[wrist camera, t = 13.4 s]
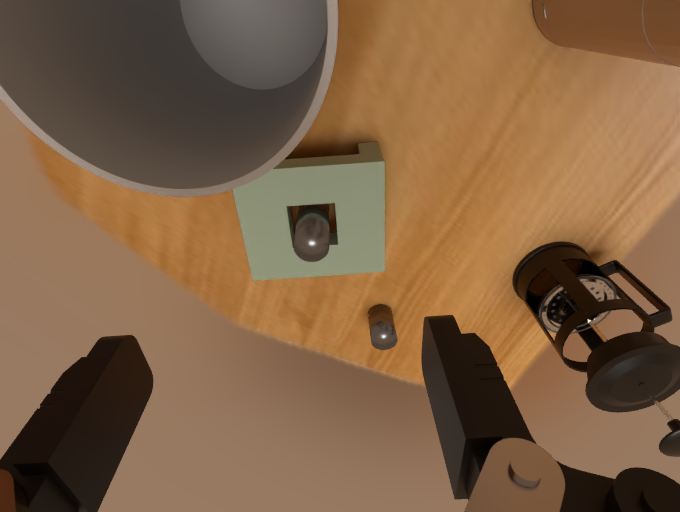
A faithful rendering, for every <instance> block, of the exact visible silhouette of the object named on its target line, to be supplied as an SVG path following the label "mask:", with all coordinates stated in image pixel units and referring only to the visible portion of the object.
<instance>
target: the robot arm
mask: <svg viewBox="0 0 680 512" xmlns="http://www.w3.org/2000/svg"><path fill="white" fill-rule="evenodd" d="M533 10H534V17H535V20H536V22H537V25H538V27H539V29H540V30H541V32H542V33H543V35H544V36H545V37H546V38H548V39H549V40H550V41H551V42H553V43H555V44H558V45H560V46H565V47H570V48H576V49H581V50H586V51H591V52H597V53H603V54H608V55H614V56H620V57H626V58H631V59H637V60H643V61H649V62H654V63H660V64H666V65H671V66H677V67H680V0H533ZM422 371H423V376H424V381H425V385H426V389H427V393H428V397H429V400H430V404H431V408H432V412H433V416H434V420H435V424H436V428H437V432H438V436H439V440H440V443H441V447H442V451H443V455H444V459H445V463H446V467H447V471H448V475H449V479H450V483H451V487H452V490H453V494H454V498H455V499H468V504H467V506H466V508H465V511H464V512H680V484H678V483H677V482H675V481H674V480H672V479H671V478H669V477H667V476H665V475H663V474H661V473H659V472H656V471H653V470H650V469H646V468H629V469H625V470H623V471H622V472H620V473H619V474H618V475H617V477H616V479H612V478H608V477H604V476H600V475H596V474H592V473H588V472H584V471H580V470H576V469H573V468H570V467H568V466H566V465H563V464H561V463H559V462H558V461H556V460H555V459H554V458H553V457H552V456H551V455H550V454H549V453H548V452H547V451H546V450H544V449H543V448H542V447H540V446H539V445H537V444H536V442H535V441H534V440H533V438H532V436H531V434H530V433H529V430H528V428H527V426H526V424H525V422H524V420H523V417H522V415H521V413H520V411H519V409H518V407H517V405H516V403H515V400H514V398H513V396H512V394H511V392H510V390H509V388H508V386H507V383H506V381H504V377H503V375H502V373H501V371H500V369H499V367H498V366H497V362H496V360H495V358H494V356H493V354H492V352H491V349H490V347H489V346H488V345H487V344H486V343H485V342H484V341H483V340H482V339H480V338H479V337H478V336H477V335H476V334H475V333H467V334H461V332H460V330H459V327H458V325H457V322H456V320H455V318H454V316H453V315H444V316H429V317H425V318H424V326H423V341H422ZM152 388H153V375H152V371H151V369H150V367H149V365H148V363H147V361H146V358H145V356H144V354H143V352H142V350H141V348H140V346H139V344H138V341H137V339H136V338H135V337H134V336H132V335H124V336H107V337H102V338H100V339H99V340H98V341H97V342H96V344H95V345H94V347H93V348H92V350H91V351H90V352H89V354H88V355H87V357H81V358H80V359H79V360H78V361H77V362H75V364H73V365H72V366H71V367H70V368H68V369H67V370H66V371H65V372H64V373H63V374H62V375H61V377H60V378H59V379H58V381H57V382H56V383H55V385H54V386H53V388H52V389H51V393H50V394H48V395H47V396H46V397H45V399H44V400H43V402H42V403H41V404H40V408H39V409H37V410H36V411H35V412H34V414H33V415H32V417H31V418H30V419H29V421H28V422H27V424H26V425H25V426H24V428H23V429H22V430H21V432H20V434H19V435H18V436H17V438H16V439H15V440H14V442H13V443H12V444H11V446H10V447H9V448H8V450H7V451H6V453H5V454H4V455H3V457H2V458H1V460H0V512H98V509H99V507H100V505H101V503H102V501H103V498H104V496H105V494H106V492H107V490H108V488H109V485H110V483H111V481H112V479H113V477H114V474H115V472H116V470H117V468H118V465H119V463H120V461H121V459H122V457H123V455H124V453H125V450H126V448H127V446H128V444H129V442H130V439H131V437H132V435H133V433H134V431H135V428H136V426H137V424H138V422H139V420H140V417H141V415H142V413H143V411H144V409H145V406H146V404H147V402H148V400H149V398H150V396H151V393H152Z"/></svg>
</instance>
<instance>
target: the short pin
mask: <svg viewBox="0 0 680 512" xmlns="http://www.w3.org/2000/svg"><path fill="white" fill-rule="evenodd" d="M368 320H369V328H370V336H371V343H372V345H373V346H374V347H375V348H377V349H380V350H387V349H390V348H392V347H393V346H395V345H396V343H397V335H396V330H395V325H394V320H393V315H392V311H391V309H390V308H389V307H388V306H386V305H383V304H378V305H375V306H373V307H371V308H370V309H369V311H368Z"/></svg>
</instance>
